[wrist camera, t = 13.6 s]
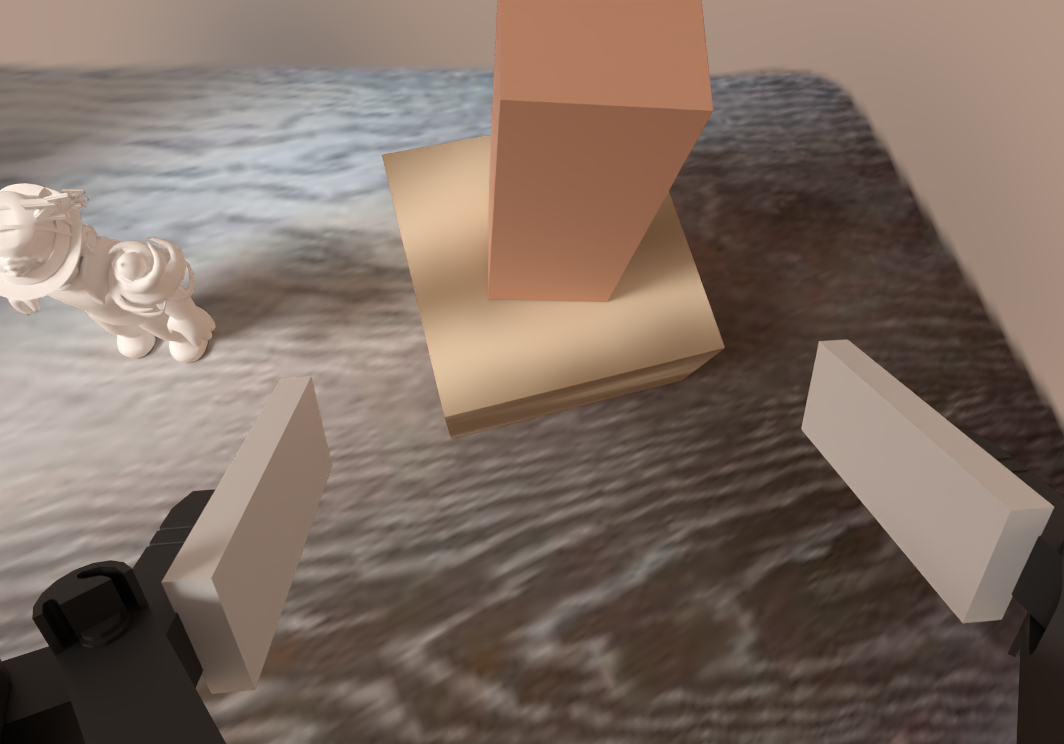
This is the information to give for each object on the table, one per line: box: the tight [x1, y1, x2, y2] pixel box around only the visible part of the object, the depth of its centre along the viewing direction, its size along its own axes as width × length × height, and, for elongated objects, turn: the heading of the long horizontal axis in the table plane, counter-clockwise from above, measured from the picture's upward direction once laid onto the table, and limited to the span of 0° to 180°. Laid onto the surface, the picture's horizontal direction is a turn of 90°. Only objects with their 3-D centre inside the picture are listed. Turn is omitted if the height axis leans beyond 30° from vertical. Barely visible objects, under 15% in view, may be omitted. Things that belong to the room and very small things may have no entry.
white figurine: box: [0, 183, 215, 363], centre depth 24 cm, size 9×4×12 cm, turn 82°
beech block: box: [382, 135, 725, 439], centre depth 29 cm, size 12×12×6 cm
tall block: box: [488, 0, 713, 302], centre depth 21 cm, size 5×5×12 cm
